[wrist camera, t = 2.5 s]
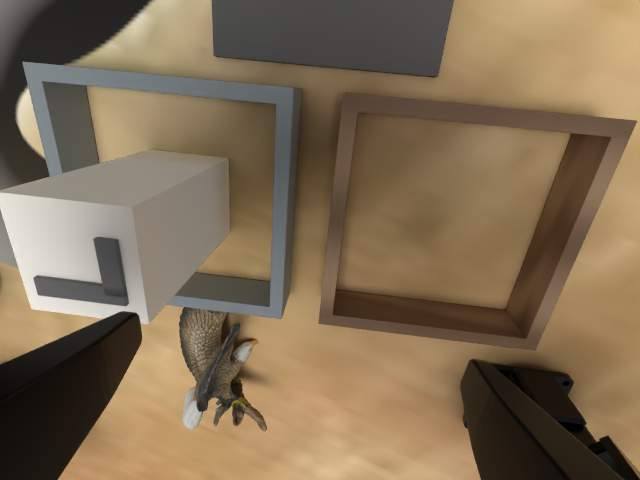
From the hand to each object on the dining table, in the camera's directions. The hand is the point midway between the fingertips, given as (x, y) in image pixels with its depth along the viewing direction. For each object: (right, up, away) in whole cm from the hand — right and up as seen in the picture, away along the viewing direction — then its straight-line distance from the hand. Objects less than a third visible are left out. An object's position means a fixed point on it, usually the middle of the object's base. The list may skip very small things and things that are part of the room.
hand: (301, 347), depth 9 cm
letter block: (-8, +6, +13) cm, 16 cm away
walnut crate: (+8, +4, +12) cm, 15 cm away
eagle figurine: (-7, -5, +18) cm, 19 cm away
